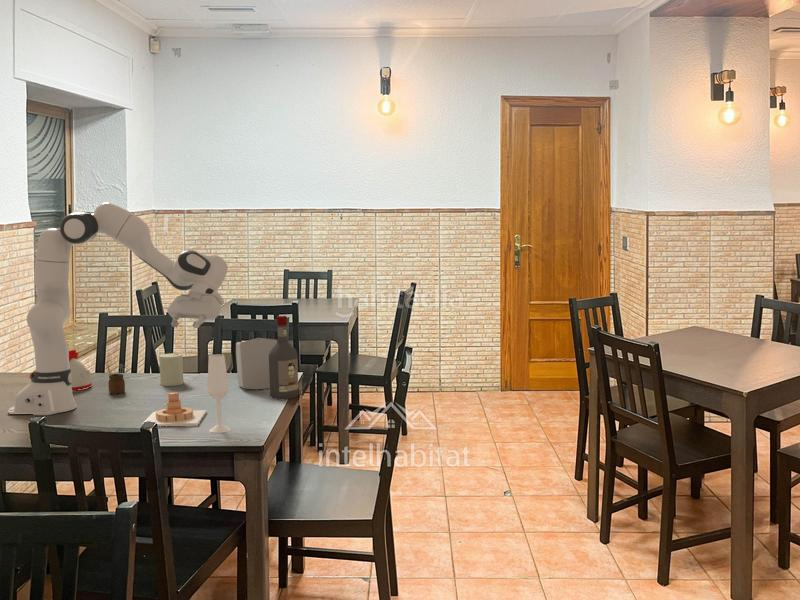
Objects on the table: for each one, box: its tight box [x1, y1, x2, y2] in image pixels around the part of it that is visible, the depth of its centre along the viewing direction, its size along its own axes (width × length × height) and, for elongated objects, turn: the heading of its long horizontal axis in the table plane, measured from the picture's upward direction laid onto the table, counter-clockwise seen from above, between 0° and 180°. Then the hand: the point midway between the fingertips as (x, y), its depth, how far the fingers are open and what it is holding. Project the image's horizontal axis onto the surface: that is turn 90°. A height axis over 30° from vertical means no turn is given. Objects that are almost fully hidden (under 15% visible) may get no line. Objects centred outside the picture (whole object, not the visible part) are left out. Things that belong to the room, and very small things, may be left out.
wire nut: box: [166, 391, 182, 414], centre depth 297 cm, size 5×5×8 cm
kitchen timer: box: [68, 349, 93, 390], centre depth 352 cm, size 14×14×15 cm
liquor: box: [269, 315, 299, 400], centre depth 329 cm, size 9×9×30 cm
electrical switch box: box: [235, 337, 278, 390], centre depth 350 cm, size 15×15×20 cm
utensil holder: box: [106, 362, 126, 395], centre depth 341 cm, size 6×6×12 cm
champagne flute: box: [206, 354, 231, 434], centre depth 282 cm, size 7×7×24 cm
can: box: [158, 352, 185, 387], centre depth 357 cm, size 9×9×12 cm
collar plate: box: [140, 406, 207, 428], centre depth 298 cm, size 18×18×3 cm
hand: (184, 326), depth 309 cm, fingers open, 8 cm apart
